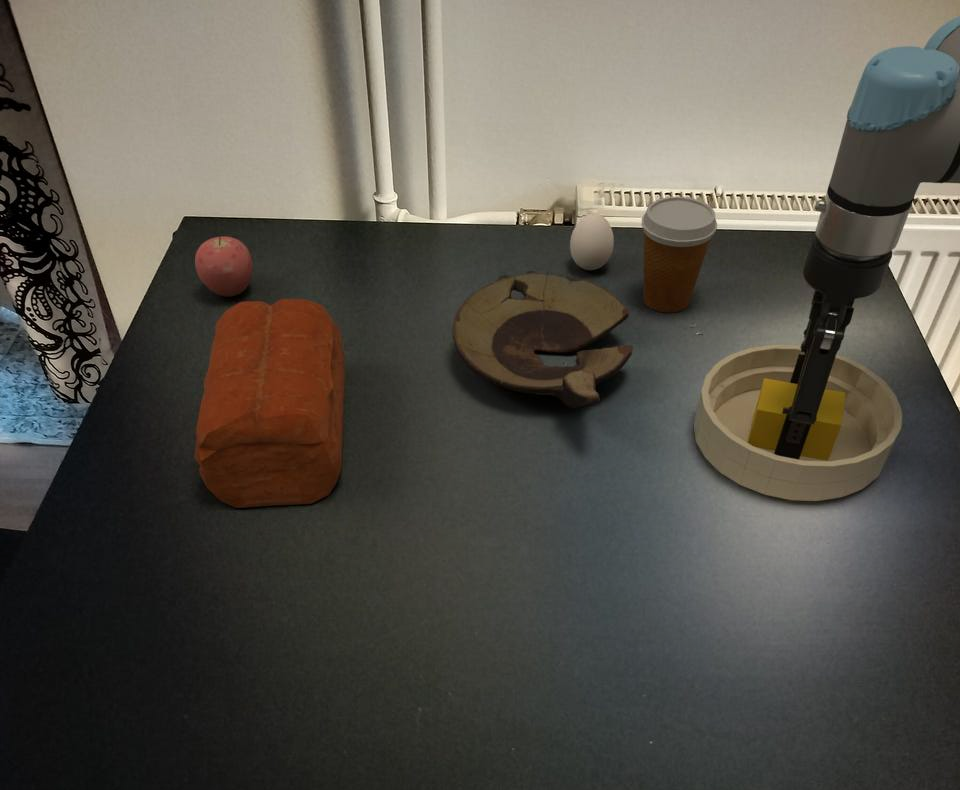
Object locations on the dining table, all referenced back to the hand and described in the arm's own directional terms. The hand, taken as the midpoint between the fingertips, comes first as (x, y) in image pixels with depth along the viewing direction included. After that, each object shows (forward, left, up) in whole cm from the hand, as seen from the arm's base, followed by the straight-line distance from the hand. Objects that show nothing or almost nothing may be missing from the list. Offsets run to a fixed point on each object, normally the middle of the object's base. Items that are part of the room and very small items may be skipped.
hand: (790, 431), depth 102 cm
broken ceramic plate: (+31, -4, -1) cm, 31 cm away
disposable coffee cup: (+19, -25, -1) cm, 31 cm away
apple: (+77, -9, -1) cm, 78 cm away
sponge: (0, 0, -1) cm, 1 cm away
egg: (+31, -30, -1) cm, 43 cm away
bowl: (0, 0, -1) cm, 1 cm away
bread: (+57, +16, -1) cm, 59 cm away
